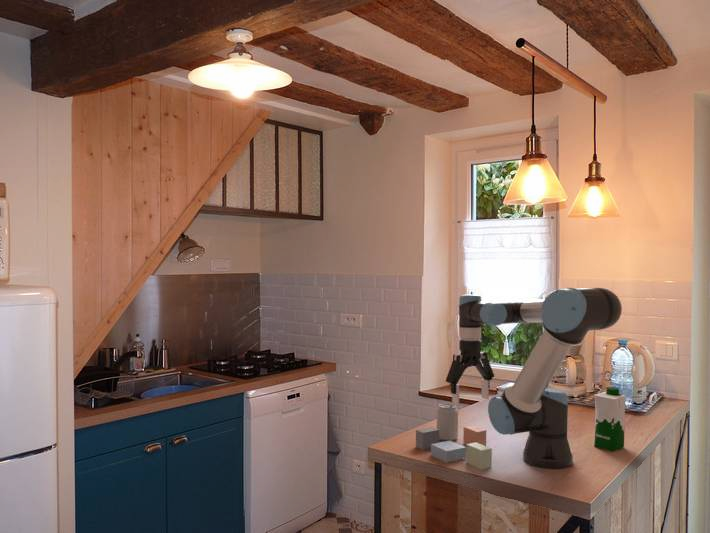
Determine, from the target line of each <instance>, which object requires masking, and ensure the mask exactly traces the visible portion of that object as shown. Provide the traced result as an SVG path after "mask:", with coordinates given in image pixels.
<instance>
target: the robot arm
mask: <svg viewBox="0 0 710 533" xmlns="http://www.w3.org/2000/svg"><path fill="white" fill-rule="evenodd" d="M458 300H459V301H458V302H459V303H458V322H459V325H458V326H459V328H458V329H459V333H458V334H459V336H458V338H459V339H460V340H459V342H458V343H459V344H458V345H459V346H458V347H459V351H460V354H455V353H454V354H453V355H452V362H451V365H450V367H449V371H448V373H447V376H446V378H445V383H449V384H450V393H451V396H452V398H451V404H455V405H459V404H460V384H459V381H460V379H461V377H462V376H463V374H464V372H465V371H466V369H468V368H471V367H475V369H476V370H477V371H478V372H479V374H480V375H481V377H482V379H481V398H482V399H485V400H489V401H488V405H487V413H488V419H489V422H490V423H491V425H492V427H493V428H494V430H495V431H496V432H498V434H500V435H501V434H502V435H510V436H512V435H516V434H523V433H528V435H527V436H528V437H527V440H526V443H525V447H524V448H523V450H522V451H523V452H522V453H523V454H522V459H523V461H525V462H526V463H528V464H530V465H533V466H536V467H541V468H545V469H546V468H547V469H562V468H569V467H571V466H572V465H573V464H574V463H573V462H574V457H573V453H572V452H571V447H570V444H569V440H568V415H569V413H568V412H569V411H568V408H569V404H568V395H567V393H566V392H565V391H564V390H561V389H556V388H552V387H548V386H549V385H550V383H551V381H552V380H553V379H554V377H555V375H556V374H557V372H558V370H559V368H560V366H561V365H562V364H563V362H564V360H565V358H566V357H567V355H568V354H569V352H570V350H571V349H572V347H573V346H577V345H579V344H581V343H582V342H583V341H584V339H585V337H586V335H587V333H588V332H589V331H598V330H599V331H600V330H606V329H608V328H611V327H612V326H615V324H617V323H618V321H619V320H620V318H621V315H622V309H623V308H622V303H621V300H620V299H619V297H618V296H617V295H616V294H615V292H613V291H611V290H609V289H608V288H603V287H585V288H583V287H582V288H573V287H565V288H560V289H559V288H558V289H555V290H553V291H551V292H550V293H549V294H547V296H546V297H545V298H543V299H528V300H525V299H524V300H508V301H507V300H506V301H505V300H504V301H482V297H481V295H479V294H461V295H460V296H459V299H458ZM528 323H529V324H530V323H533V324H534V323H535V324H536V323H537V324H538V323H539V324H540V323H541V324H542V328H543V331H542V333H541V335H539V336H540V337H539V339H538V340H537V342H536V344H535V345H534V347H533V349H532V351H531V352H530V355H529V356H528V358H527V359H526V361H525V363H524V365H523V367H522V369H521V370H520V372H519V374H518V376H517V378H516V379H515V381H514V382H511V383H509V384H508V385H506V386H505V388H504V390H503V391H502V394H501V395H495V396H494V397H491V398H490V399H489V394H490V393H489V389H490V386H491V385H490V383H491V381H492V380H493V378H494V377H495V373H494V370H493V369H492V366H491V363H490V360H489V359H488V358H489V357H488V352H487V351H482V340H481V339H482V325H487V326H489V327H490V326H501V325H505V324H528Z"/></svg>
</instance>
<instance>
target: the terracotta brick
mask: <svg viewBox="0 0 710 533" xmlns="http://www.w3.org/2000/svg"><path fill="white" fill-rule="evenodd" d="M462 440H463V443H462V444H463V445H465V444H466V445H465V446H467V444H470V443H475V442H477V443H479V444H482V445H484V446H487V430H486V429H484V428H481V427H478V426H475V425H468V426H467V425H466V426H463V439H462Z"/></svg>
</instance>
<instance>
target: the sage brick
mask: <svg viewBox="0 0 710 533" xmlns="http://www.w3.org/2000/svg"><path fill="white" fill-rule="evenodd" d="M492 451H493V448H492V447H489V446H487V445H486V446H484V445H482V444H479V443H477V442H475V443H470V444H467V445H466V460H465V462H467V463H466V464H468V463H469V464H468V465H470V464H471V465H470V466H472V465H473V466H472V467H475V468H478V469H479V470H481V471H482V470H486V469H490V468H492V465H493V464H492V463H493V462H492V461H493V460H492V459H493V458H492V457H493V456H492V454H493V453H492Z"/></svg>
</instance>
